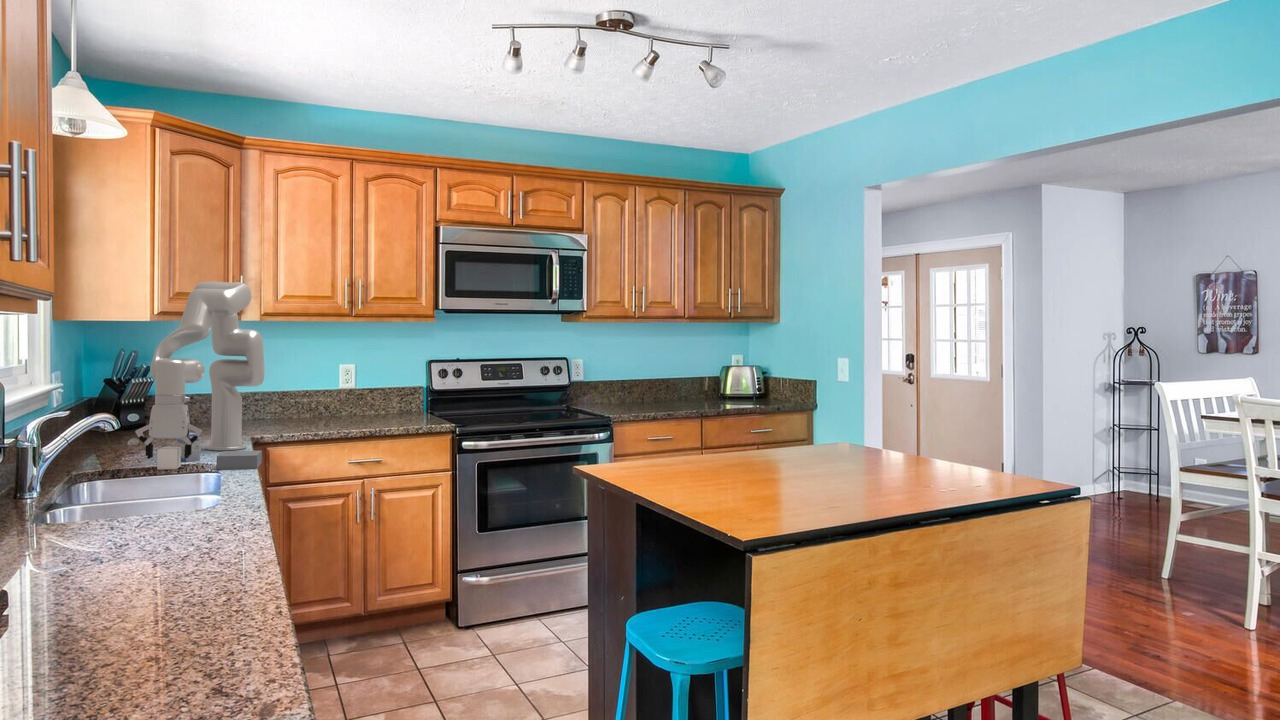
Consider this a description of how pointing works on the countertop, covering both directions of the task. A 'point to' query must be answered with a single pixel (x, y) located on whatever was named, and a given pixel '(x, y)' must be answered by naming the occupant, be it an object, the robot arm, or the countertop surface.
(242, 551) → the countertop surface
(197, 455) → the medicine box
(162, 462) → the cube
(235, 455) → the plinth
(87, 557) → the countertop surface
